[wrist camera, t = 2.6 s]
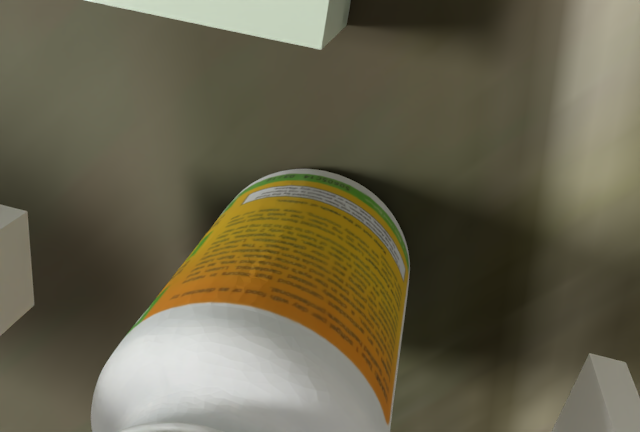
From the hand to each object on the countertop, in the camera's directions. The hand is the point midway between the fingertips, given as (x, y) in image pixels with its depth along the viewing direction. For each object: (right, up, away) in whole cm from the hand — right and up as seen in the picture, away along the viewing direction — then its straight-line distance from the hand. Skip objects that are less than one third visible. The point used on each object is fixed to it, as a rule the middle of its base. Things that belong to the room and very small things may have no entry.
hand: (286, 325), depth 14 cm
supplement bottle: (+1, +2, +3) cm, 3 cm away
